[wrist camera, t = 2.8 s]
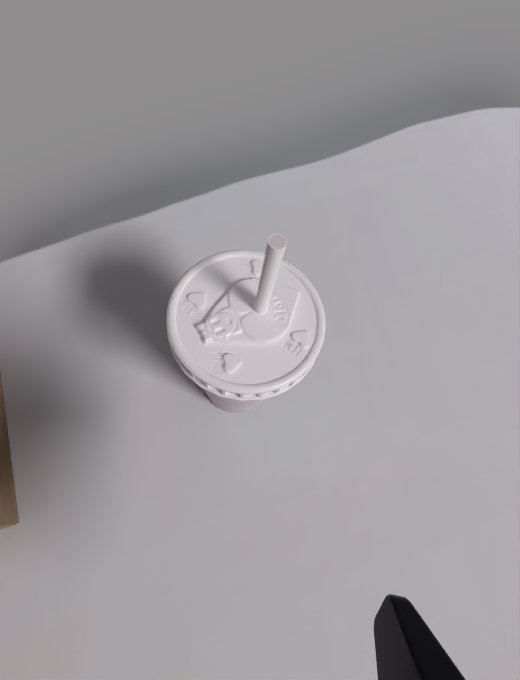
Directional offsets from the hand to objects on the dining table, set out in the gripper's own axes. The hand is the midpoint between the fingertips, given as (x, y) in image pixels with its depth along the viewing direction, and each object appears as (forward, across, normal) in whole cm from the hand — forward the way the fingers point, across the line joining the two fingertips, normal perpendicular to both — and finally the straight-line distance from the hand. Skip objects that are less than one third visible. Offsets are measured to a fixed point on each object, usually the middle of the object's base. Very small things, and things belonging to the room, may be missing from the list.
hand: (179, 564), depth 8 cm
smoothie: (+15, 0, +4) cm, 16 cm away
